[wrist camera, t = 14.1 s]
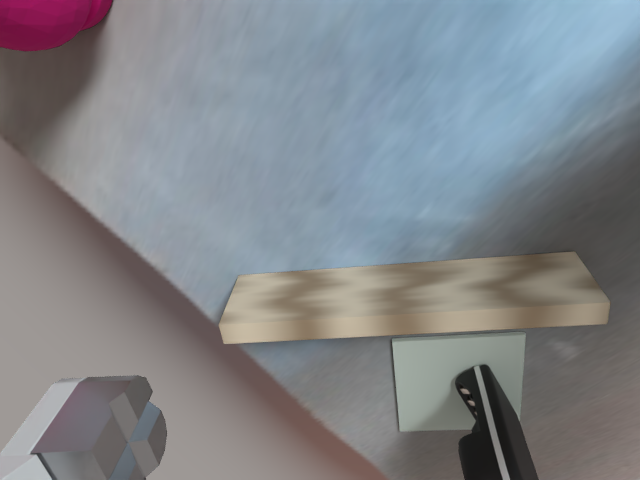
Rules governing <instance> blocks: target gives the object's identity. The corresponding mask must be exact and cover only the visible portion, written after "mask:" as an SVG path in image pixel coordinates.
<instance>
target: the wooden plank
mask: <svg viewBox="0 0 640 480" xmlns="http://www.w3.org/2000/svg"><path fill="white" fill-rule="evenodd" d="M610 304H611V302H610V300H609V299H608V298H607V296H606V295H605V293H604V292H603V291H602V289H601V288H600V286H599V285H598V283H597V282H596V281H595V279H594V278H593V276H592V275H591V274H590V272H589V271H588V269H587V268H586V266H585V265H584V264H583V262H582V261H581V259H580V258H579V256H578V255H577V254H576V252H575V251H573V252H559V253H545V254H531V255H517V256H503V257H489V258H474V259H460V260H446V261H432V262H418V263H404V264H390V265H376V266H362V267H348V268H333V269H319V270H305V271H291V272H277V273H263V274H249V275H239V276H238V279H237V281H236V283H235V286H234V288H233V291H232V293H231V296H230V298H229V301H228V303H227V305H226V308H225V310H224V313H223V315H222V318H221V320H220V323H219V328H220V332H221V335H222V339H223V342H224V344H234V343H253V342H272V341H291V340H311V339H330V338H349V337H368V336H387V335H406V334H425V333H444V332H463V331H482V330H502V329H521V328H540V327H559V326H578V325H597V324H607V323H608V316H609V310H610Z"/></svg>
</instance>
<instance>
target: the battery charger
mask: <svg viewBox="0 0 640 480" xmlns="http://www.w3.org/2000/svg"><path fill="white" fill-rule="evenodd" d="M455 386H456V389H457V391H458V393H459V395H460V396H461V398H462V399H463V401H464V403H465V404H466V406H467V407H468V409H469V411H470V412H471V414H472V415H473V417H474V419H475V420H476V422H475V424H474V426H473V428H472V433H471V434H469V435H466V436H464V437H463V438H461V439H460V440H459V456H460V461H461V465H462V470H463V474H464V478H465V480H539V479H538V476H537V473H536V470H535V467H534V464H533V461H532V458H531V455H530V452H529V450H528V447H527V444H526V441H525V437H524V434H523V431H522V428H521V425H520V422H519V419H518V416H517V414H516V412H515V410H514V409H513V407H512V405H511V403H510V402H509V400H508V398H507V396H506V395H505V393H504V391H503V389H502V388H501V386H500V384H499V383H498V381H497V379H496V377H495V376H494V374H493V372H492V371H491V369H490V367H489V366H488V365H482V366H479V365H478V366H475V367H474V368H473V369H470V370H468V371H466V372H464V373H462V374H461V375H459V376H458V377H457V378H456V380H455Z"/></svg>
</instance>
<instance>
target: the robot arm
mask: <svg viewBox="0 0 640 480" xmlns="http://www.w3.org/2000/svg"><path fill="white" fill-rule="evenodd" d="M152 392H153V391H152V389H151V387H150V385H149V383H148V381H147V379H146V378H145V377H141V376H138V375H137V376H112V377H111V376H109V377H88V378H69V379H61V380H59V381H57V382H55V383H53V384H52V386H51V387H50V388H49V390H48V391H47V392H46V393H45V395H44V396H43V397H42V399H41V400H40V401H39V403H38V404H37V405H36V407H35V408H34V409H33V411H32V412H31V413H30V415H29V416H28V417H27V419H26V420H25V422H23V424H22V425H21V426H20V428H19V429H18V430H17V432H16V433H15V434H14V436H13V437H12V439H11V440H10V441H9V442H8V444H7V445H6V446H5V448H4V449H3V450H2V452H1V453H0V480H146V478H145V477H146V476H147V475H149V474H150V473H151V472H152V471H153V470H154V469H155V468H156V467H157V466H159V464H160V461H161V459H162V456H163V454H164V451H165V445H166V437H167V430H166V423H165V419H164V417H163V414H162V412H161V410H160V409H159V408H157V407H156V406H155V405H153V404H152V403H151V402H149V399H150V397H151V395H152Z"/></svg>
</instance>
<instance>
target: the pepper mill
mask: <svg viewBox="0 0 640 480" xmlns="http://www.w3.org/2000/svg"><path fill="white" fill-rule="evenodd" d="M111 3H112V0H0V47H3V48H8V49H12V50H19V51H38V50H47V49H51V48H55V47H58V46H60V45H62V44H64V43H66V42H67V41H69V40H70V39H72V38H73V37H74V36H75V35H76V34H77V33H78V32H79V31H82V30H85V29H88V28H90V27H92V26H94V25H96V24H97V23H98V22H100V21H101V20H102V18H103V17H104V16H105V15H106V13H107V12H108V10H109V8H110V6H111Z"/></svg>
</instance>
